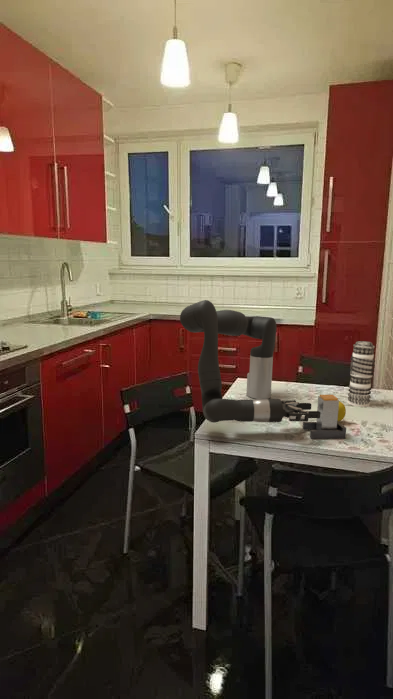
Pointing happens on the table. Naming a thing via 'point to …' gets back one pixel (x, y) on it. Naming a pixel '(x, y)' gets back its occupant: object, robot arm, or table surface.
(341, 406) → the lemon
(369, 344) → the decorative candle
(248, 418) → the robot arm
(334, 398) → the block
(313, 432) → the channel
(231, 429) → the table surface
